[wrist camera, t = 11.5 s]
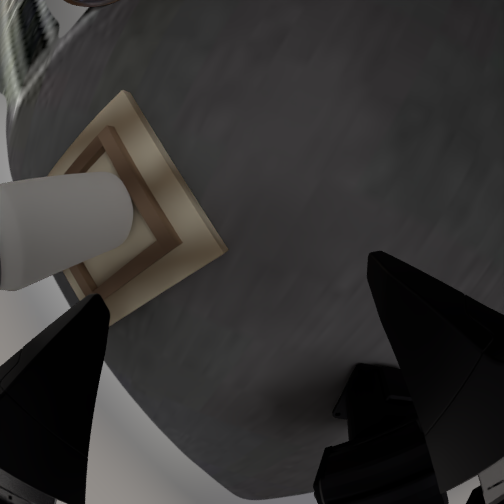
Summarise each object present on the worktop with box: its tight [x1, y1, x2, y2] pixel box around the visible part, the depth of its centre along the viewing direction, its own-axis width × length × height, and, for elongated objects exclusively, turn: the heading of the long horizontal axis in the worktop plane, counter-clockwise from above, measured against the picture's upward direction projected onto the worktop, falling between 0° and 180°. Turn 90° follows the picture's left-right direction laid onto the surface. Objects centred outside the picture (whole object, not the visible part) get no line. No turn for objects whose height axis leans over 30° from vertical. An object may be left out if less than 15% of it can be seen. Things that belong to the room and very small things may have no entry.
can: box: [0, 172, 133, 291], centre depth 16 cm, size 6×6×12 cm
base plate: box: [47, 90, 228, 326], centre depth 22 cm, size 16×16×2 cm
